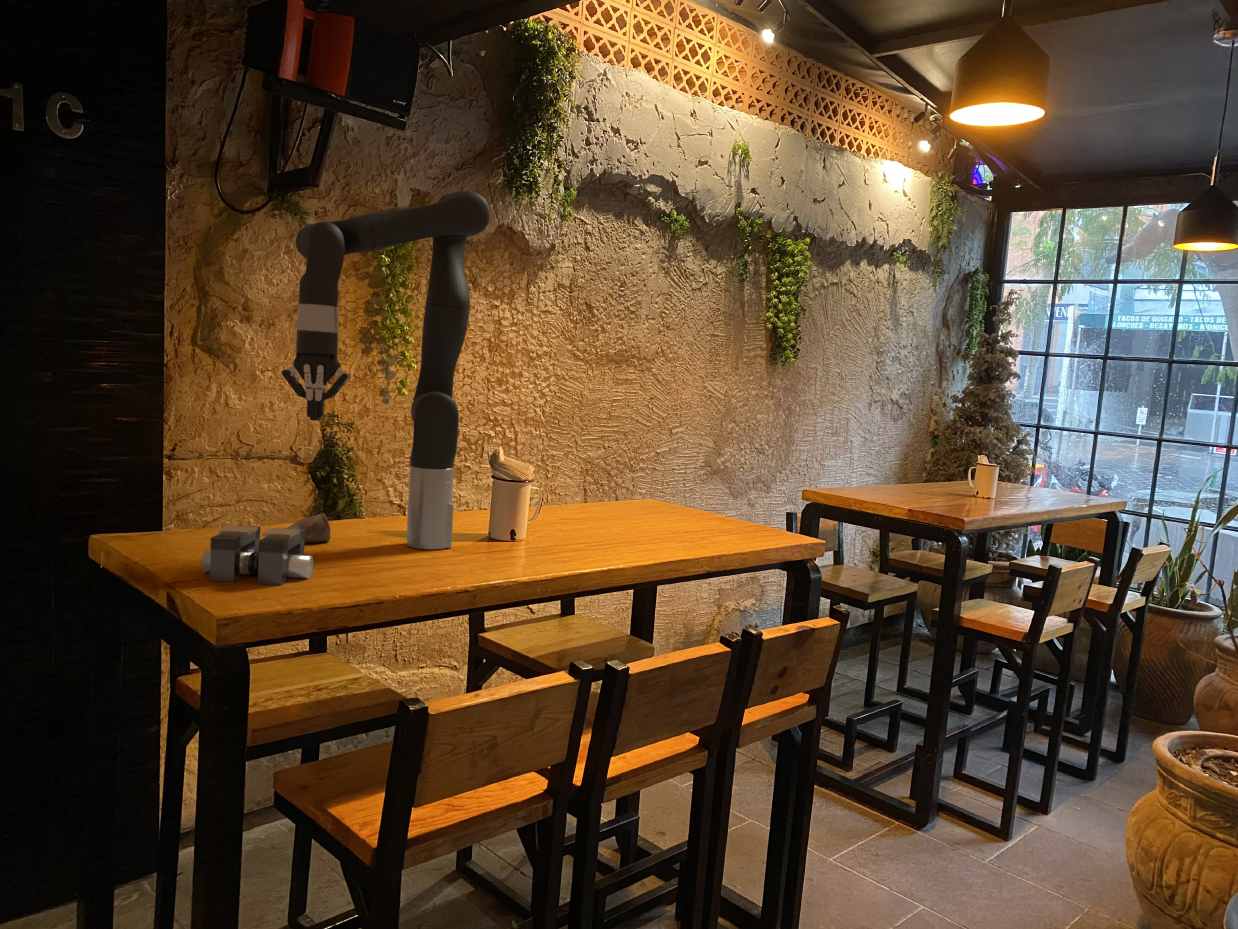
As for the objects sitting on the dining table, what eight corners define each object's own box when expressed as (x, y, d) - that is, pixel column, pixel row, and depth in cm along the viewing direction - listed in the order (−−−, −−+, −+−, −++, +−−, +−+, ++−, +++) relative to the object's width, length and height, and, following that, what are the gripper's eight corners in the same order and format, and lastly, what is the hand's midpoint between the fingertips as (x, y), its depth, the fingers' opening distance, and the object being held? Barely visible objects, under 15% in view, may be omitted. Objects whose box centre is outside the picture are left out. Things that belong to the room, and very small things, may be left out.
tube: (312, 575, 158) (313, 553, 157) (305, 581, 154) (306, 558, 153) (210, 569, 157) (210, 547, 156) (201, 574, 153) (201, 552, 152)
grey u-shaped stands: (303, 569, 161) (305, 526, 160) (281, 585, 149) (283, 538, 149) (237, 565, 161) (238, 522, 160) (209, 581, 149) (210, 534, 148)
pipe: (271, 531, 170) (325, 524, 173) (280, 516, 186) (329, 509, 189) (276, 563, 171) (329, 556, 174) (284, 545, 187) (333, 538, 190)
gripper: (357, 332, 172) (354, 421, 174) (288, 328, 171) (286, 417, 173) (348, 331, 164) (345, 423, 166) (275, 326, 163) (273, 419, 165)
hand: (315, 420), depth 169 cm, fingers closed
